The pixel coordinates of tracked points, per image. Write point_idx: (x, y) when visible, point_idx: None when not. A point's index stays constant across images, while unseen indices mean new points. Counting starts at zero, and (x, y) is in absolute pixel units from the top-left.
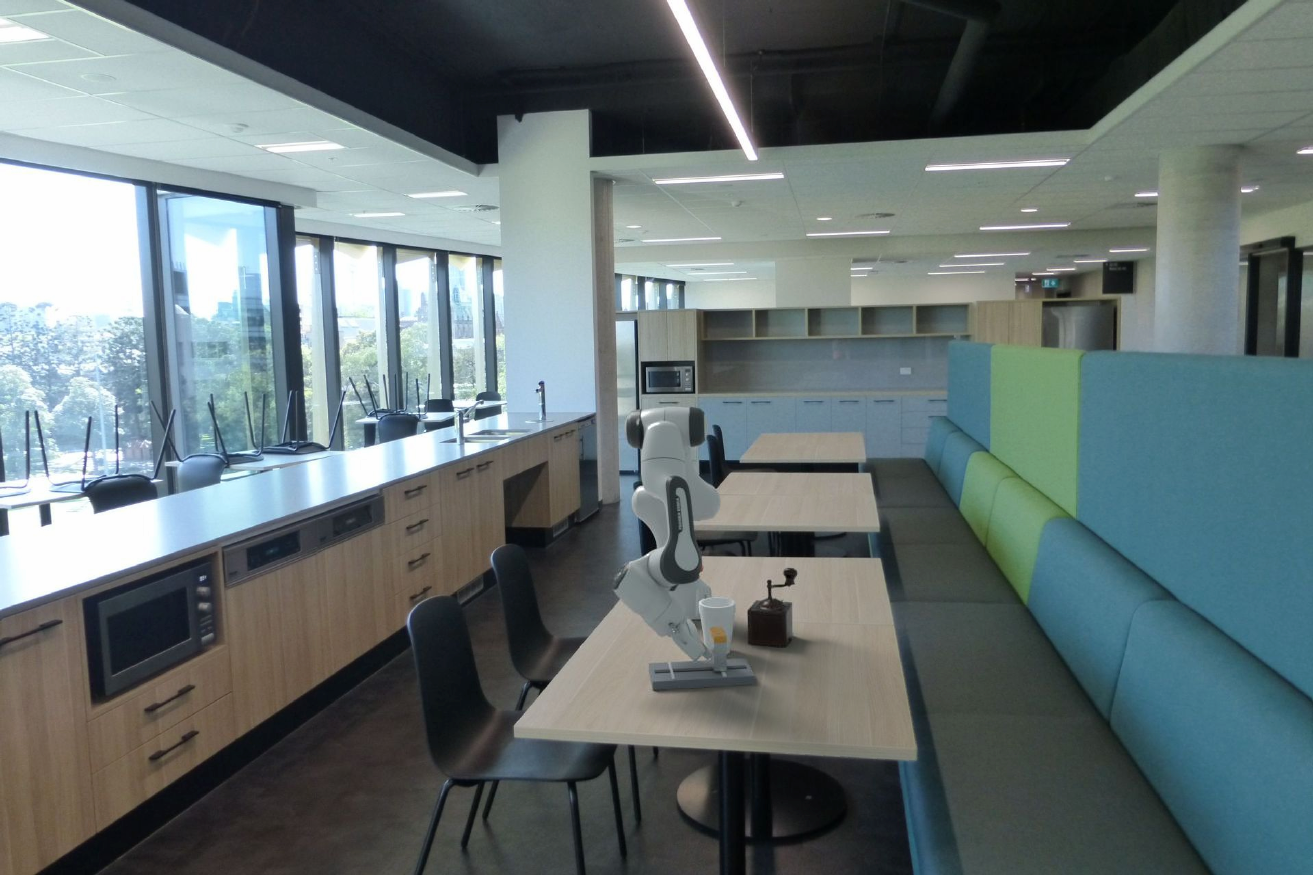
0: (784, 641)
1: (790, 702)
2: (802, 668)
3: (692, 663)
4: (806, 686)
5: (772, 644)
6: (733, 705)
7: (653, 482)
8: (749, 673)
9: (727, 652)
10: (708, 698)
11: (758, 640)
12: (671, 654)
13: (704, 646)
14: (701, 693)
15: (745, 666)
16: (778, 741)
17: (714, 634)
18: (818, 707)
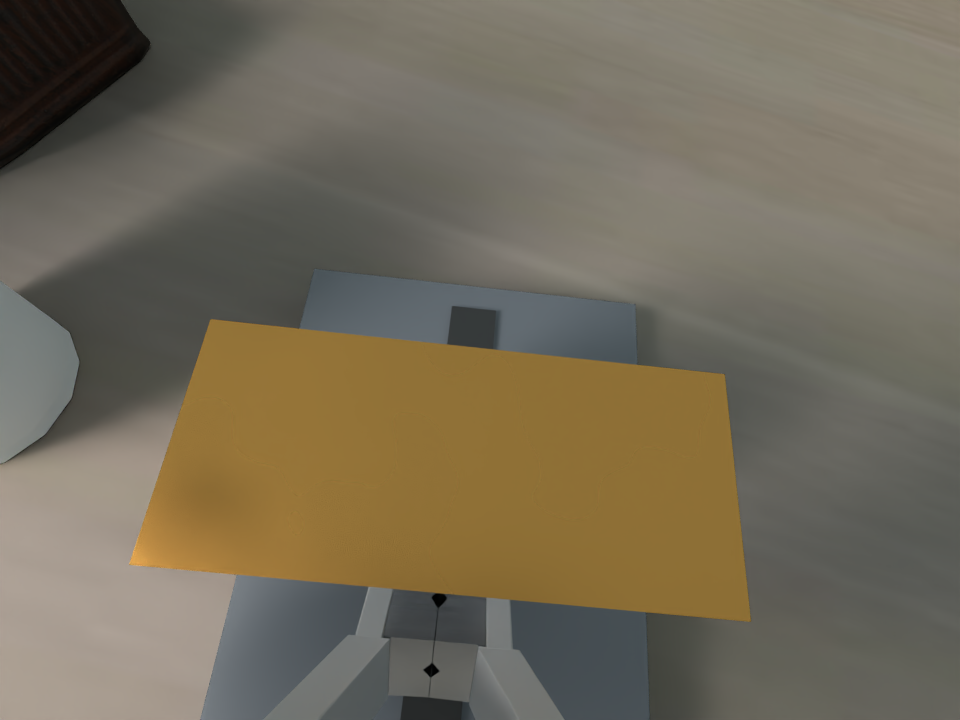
0: (126, 15)
1: (853, 241)
2: (453, 74)
3: (269, 710)
4: (669, 127)
5: (93, 78)
6: (918, 531)
7: None
8: (587, 321)
9: (63, 334)
10: (820, 676)
11: (12, 115)
12: None
13: (378, 663)
14: (732, 711)
15: (477, 311)
16: None
17: (606, 573)
18: (898, 161)
